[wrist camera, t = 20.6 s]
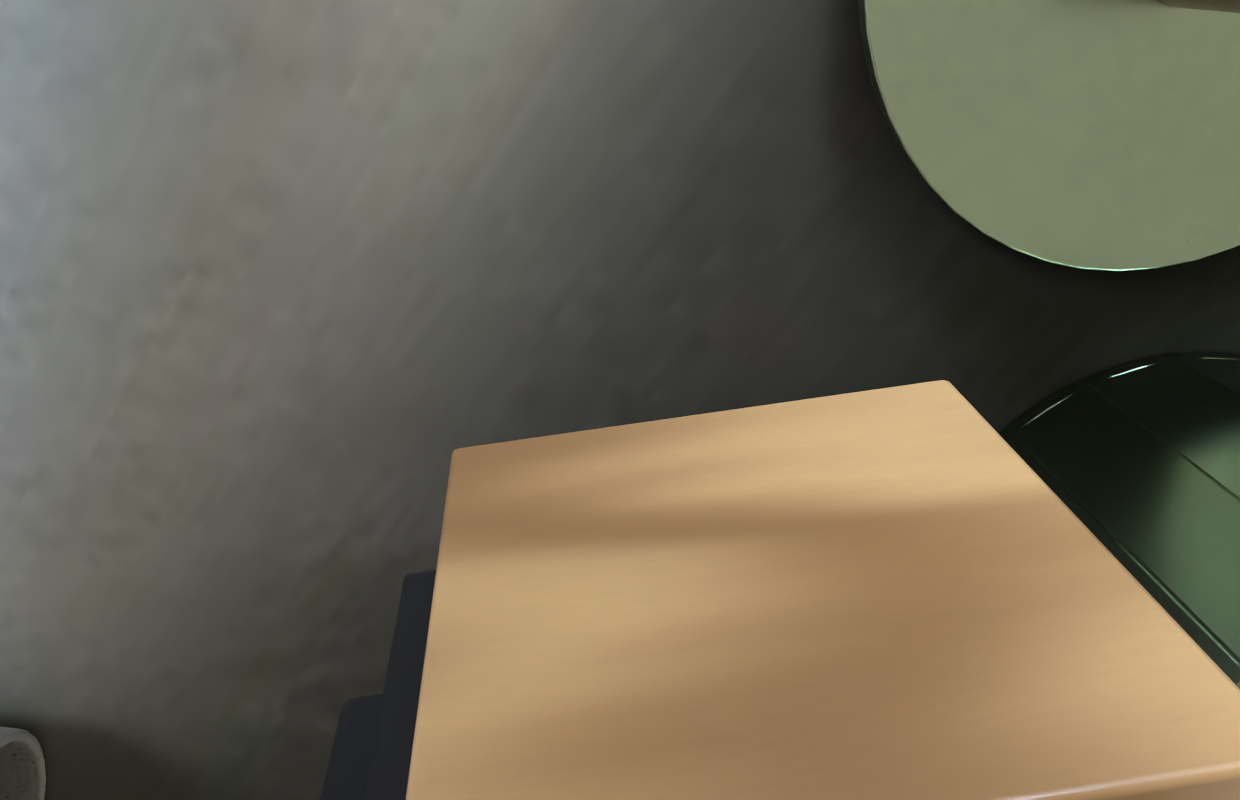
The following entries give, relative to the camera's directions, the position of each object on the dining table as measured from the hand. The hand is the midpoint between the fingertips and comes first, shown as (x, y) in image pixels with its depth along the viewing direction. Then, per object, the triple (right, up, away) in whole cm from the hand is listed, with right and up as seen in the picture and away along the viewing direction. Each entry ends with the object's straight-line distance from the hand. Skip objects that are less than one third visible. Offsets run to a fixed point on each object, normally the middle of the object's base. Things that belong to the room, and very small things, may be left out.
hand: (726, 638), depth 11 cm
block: (0, 0, +1) cm, 1 cm away
